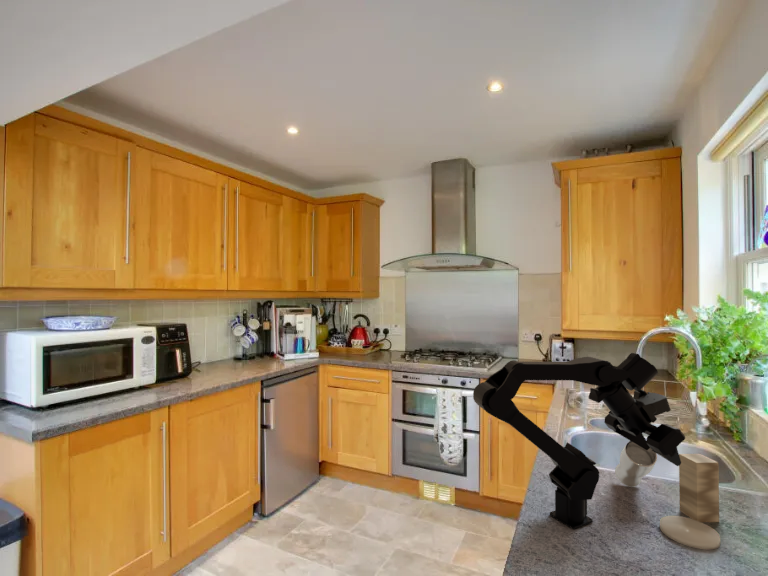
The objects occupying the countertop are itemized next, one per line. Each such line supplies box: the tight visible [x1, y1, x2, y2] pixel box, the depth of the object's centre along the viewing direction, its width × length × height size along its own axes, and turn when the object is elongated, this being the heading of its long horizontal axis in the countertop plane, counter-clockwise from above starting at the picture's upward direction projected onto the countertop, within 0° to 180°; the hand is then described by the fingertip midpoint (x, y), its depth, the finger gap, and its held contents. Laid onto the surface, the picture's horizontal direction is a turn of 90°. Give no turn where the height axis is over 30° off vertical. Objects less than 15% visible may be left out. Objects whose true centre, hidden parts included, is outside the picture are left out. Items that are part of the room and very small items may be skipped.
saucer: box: [659, 515, 721, 551], centre depth 84 cm, size 10×10×1 cm
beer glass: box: [614, 440, 658, 488], centre depth 102 cm, size 7×7×15 cm
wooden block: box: [678, 453, 720, 523], centre depth 91 cm, size 5×5×13 cm
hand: (662, 456), depth 92 cm, fingers open, 9 cm apart
